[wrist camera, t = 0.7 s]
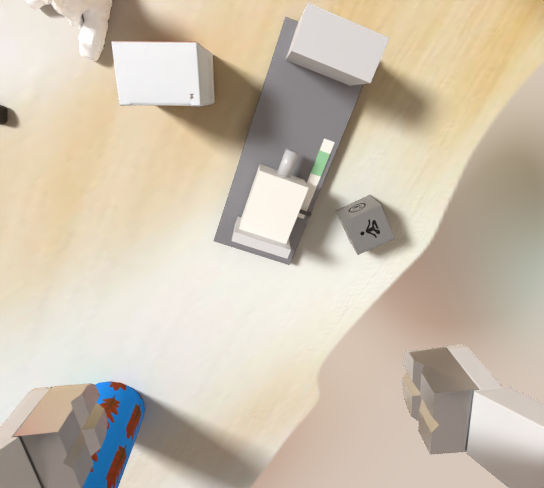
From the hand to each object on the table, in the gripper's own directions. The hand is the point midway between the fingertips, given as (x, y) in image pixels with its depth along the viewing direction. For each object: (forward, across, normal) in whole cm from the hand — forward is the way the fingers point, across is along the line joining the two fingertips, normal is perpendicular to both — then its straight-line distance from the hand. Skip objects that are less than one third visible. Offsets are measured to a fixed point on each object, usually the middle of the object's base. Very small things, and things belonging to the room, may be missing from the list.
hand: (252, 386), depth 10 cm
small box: (+40, +8, -11) cm, 43 cm away
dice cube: (+41, -13, +9) cm, 44 cm away
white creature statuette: (+40, +17, -20) cm, 48 cm away
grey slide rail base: (+40, -4, -1) cm, 41 cm away
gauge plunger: (+39, -3, +4) cm, 39 cm away
